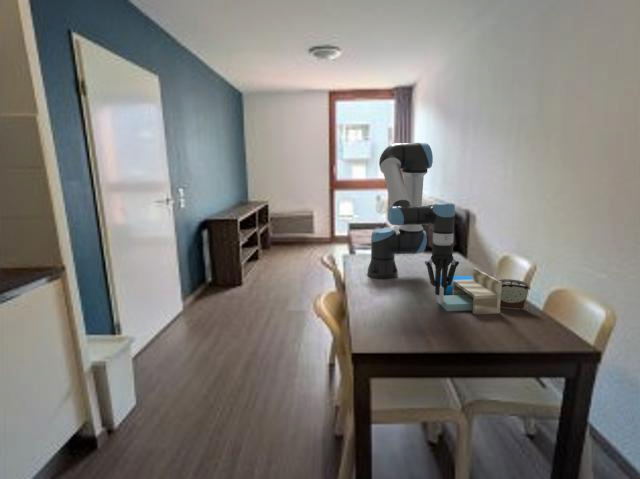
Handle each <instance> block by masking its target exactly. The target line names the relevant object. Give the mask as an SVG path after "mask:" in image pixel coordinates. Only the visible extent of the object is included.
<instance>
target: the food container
mask: <svg viewBox="0 0 640 479" xmlns="http://www.w3.org/2000/svg"><path fill="white" fill-rule="evenodd" d="M498 280H499V281H501V282H502V289H501V302H500V309H501V308H502V309H511V310H520V309H522V310H521V311H525V307H526V301H527V298H528V292H529V291H531V287H530V284H529V283H527V282H525V281H522V280H518V279H511V278H510V279H508V278H504V279H503V278H502V279H498Z"/></svg>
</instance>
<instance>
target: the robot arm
mask: <svg viewBox="0 0 640 479" xmlns="http://www.w3.org/2000/svg"><path fill="white" fill-rule="evenodd" d="M433 157H434V156H433V150H432V148H431V146H430V145H429V144H428V142H427V143H426V142H402V143H401V142H397V143H396V142H395V143H393V144H390V145H389V146H387V147H386V148H385V149H384V150H383V151H382V153H381V154H380V157H379V161H378V165H379V170H380V172H381V173H382V174H383V178H384V180H385V184H386V188H387V189H386V190H387V192H388V198H389V201H390V205H391V206H389V208H388V211H387V217H388V218H387V219H388V220H387V221H388V222H389V224H390V225H392V226H399V228H398V229H399V230H396V229H395V227H384V228H378V229H375V230H374V231H372V233H371V237H370V238H371V239H370V244H371V245H370V247H371V248H370V249H371V250H370V262H369V265H368V268H367V276H368V277H370V278H373V279H383V280H384V279H387V280H388V279H394V278H396V277H398V275H399V270H398V268H397V264H396V260H395V257H396V256H395V255H415V254H417V255H418V254H422V253H423V252H424V251H425V250H426V246H427V241H428V238H427V232H426V230H424V227H423V226H422V225H426V226H427V225H432V243H433V244H431V247H432V248H431V257H430V259H428V260H425V262H424V264H425V266H426V268H427V274H428V278H429V282H430V285H431V286H433V287H435V288H434V293H435V295H436V302H437V304H439V305H440V304H443V297H444V296H446V295H447V294H446V288H447V287H448V286H450V285H451V284H452V280H453V277H454V276H455V272H456V270H457V267H458V266H459V264H460V262H459V261H458V260H456V259H454V256H453V253H454V245H453V243H454V233H455V220H456V219H455V217H456V216H455V215H456V205H455V204H454V203H453V202H445V201H444V202H443V201H442V202H435V204H428V205H422V204H423V189H424V180H425V179H424V178H425V175H426V174H428V169H431V168H432V166H433V163H434V162H433V161H434V158H433ZM403 175H404V178H403ZM433 265H434V268H433ZM434 269H435V271H434ZM434 272H435V273H434ZM441 275H442V279H441ZM440 281H441V285H442V286H440Z"/></svg>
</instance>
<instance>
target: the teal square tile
mask: <svg viewBox="0 0 640 479" xmlns="http://www.w3.org/2000/svg"><path fill="white" fill-rule="evenodd" d="M439 305H440V306H441V307H442V308H443V309H444V310H445V311H446V312H457V311H459V312H460V311H473V299H472V298H470V297H469V296H467V295H452V294H445V295H444V297H443V304H439Z"/></svg>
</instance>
